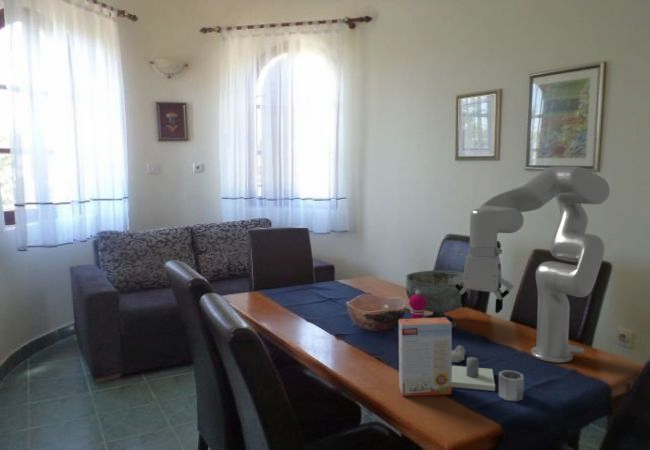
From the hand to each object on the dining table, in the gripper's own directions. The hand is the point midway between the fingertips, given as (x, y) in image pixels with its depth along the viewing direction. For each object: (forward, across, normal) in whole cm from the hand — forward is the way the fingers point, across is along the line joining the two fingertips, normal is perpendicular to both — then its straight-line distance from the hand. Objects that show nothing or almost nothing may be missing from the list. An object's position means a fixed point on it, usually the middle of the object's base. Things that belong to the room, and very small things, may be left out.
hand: (481, 309), depth 147 cm
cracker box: (+22, +11, +15) cm, 29 cm away
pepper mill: (+22, +27, -17) cm, 39 cm away
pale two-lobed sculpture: (+22, +10, -12) cm, 27 cm away
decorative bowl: (+22, +30, -43) cm, 57 cm away
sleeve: (+22, -10, +5) cm, 25 cm away
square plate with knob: (+22, +2, +1) cm, 22 cm away
